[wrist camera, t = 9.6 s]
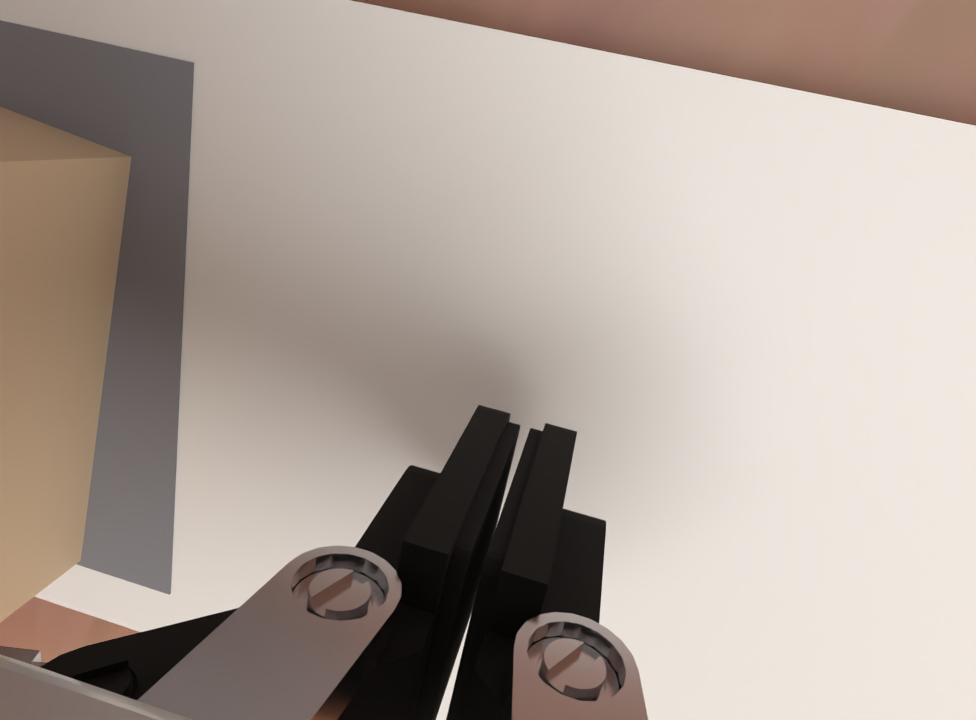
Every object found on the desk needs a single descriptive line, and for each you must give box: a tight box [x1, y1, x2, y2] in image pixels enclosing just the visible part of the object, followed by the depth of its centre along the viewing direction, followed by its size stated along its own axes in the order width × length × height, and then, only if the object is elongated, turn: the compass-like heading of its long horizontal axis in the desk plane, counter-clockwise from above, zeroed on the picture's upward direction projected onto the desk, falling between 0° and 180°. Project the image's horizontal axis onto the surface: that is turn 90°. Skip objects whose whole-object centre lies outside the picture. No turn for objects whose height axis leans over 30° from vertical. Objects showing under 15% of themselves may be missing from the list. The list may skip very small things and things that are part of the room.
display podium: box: [0, 0, 976, 720], centre depth 15 cm, size 15×30×3 cm, turn 78°
